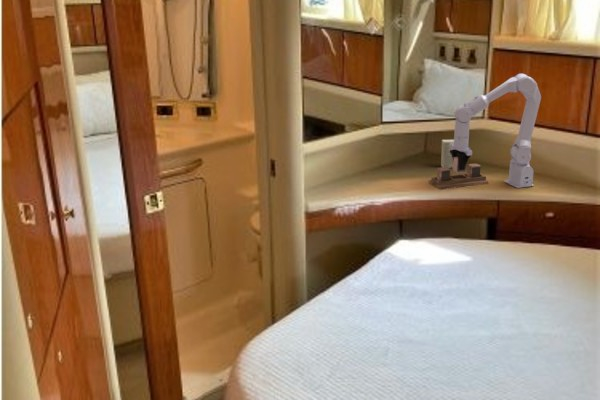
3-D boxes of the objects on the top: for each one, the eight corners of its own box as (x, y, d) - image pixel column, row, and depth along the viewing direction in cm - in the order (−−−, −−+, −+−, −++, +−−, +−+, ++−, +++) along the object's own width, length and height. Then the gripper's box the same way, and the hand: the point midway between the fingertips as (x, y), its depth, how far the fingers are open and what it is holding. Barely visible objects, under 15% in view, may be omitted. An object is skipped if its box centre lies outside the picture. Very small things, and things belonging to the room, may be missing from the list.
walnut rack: (488, 183, 242) (489, 167, 239) (440, 189, 236) (441, 172, 234) (475, 176, 251) (476, 161, 248) (428, 182, 245) (429, 166, 243)
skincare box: (454, 165, 268) (455, 139, 264) (455, 167, 264) (457, 141, 260) (440, 165, 269) (441, 139, 265) (441, 167, 265) (443, 141, 260)
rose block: (465, 172, 241) (466, 158, 239) (457, 173, 240) (458, 159, 238) (461, 170, 244) (462, 156, 242) (452, 171, 243) (453, 157, 241)
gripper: (443, 133, 242) (441, 164, 247) (462, 140, 229) (459, 174, 234) (458, 131, 244) (456, 163, 249) (478, 139, 231) (475, 172, 235)
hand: (459, 168), depth 241 cm, fingers closed on rose block, 3 cm apart
